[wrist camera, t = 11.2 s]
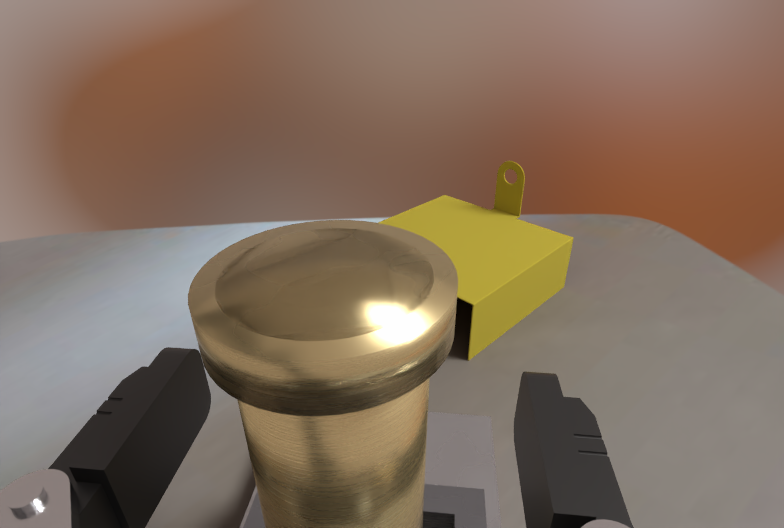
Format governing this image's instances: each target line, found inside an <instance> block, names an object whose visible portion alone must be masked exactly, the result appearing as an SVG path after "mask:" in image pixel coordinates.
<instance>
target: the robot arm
mask: <svg viewBox="0 0 784 528" xmlns="http://www.w3.org/2000/svg"><path fill="white" fill-rule="evenodd" d="M210 405H211V394H210V390H209V386H208V382H207V378H206V374H205V370H204V366H203V362H202V358H201V355H200V353H199V351H198V350H196V349H184V348H169V347H168V348H164V349H163V350H162V351H161V352H160V353H159V354H158V356H157V357H156V358H155V359H154V361H153V362H152V363H151V364H150V366H149V367H141V368H139V369H138V370H137V371H135V372H134V373H132V374H131V375H129V376H128V377H127V378H125V379H124V380H122V381H121V383H120V384H119V385H118V386H117V387H116V389H115V390H114V391H113V392H112V393H111V395H110V396H109V397H108V401H106V400H105V402H104V403H103V404H102V405H101V406H100V408H99V409H98V410H97V414H96V415H95V414H94V415H93V416H92V417H91V418H90V420H89V421H88V422H87V423H86V424H85V426H84V427H83V428H82V429H81V430H80V432H79V433H78V434H77V435H76V436H75V438H74V439H73V440H72V441H71V442H70V444H69V445H68V446H67V447H66V448H65V450H64V451H63V452H62V453H61V454H60V455H59V457H58V458H57V459H56V460H55V461H54V463H53V464H52V465H51V466H50V467H49V468H48V469H44V470H39V471H35V472H32V473H29V474H27V475H24V476H22V477H20V478H19V479H17V480H15V481H13V482H12V483H10V484H9V485H8V486H6V487H5V488H4V489H2V490H1V491H0V528H145V527H146V525H147V523H148V521H149V519H150V518H151V516H152V514H153V512H154V511H155V509H156V507H157V505H158V504H159V502H160V500H161V498H162V496H163V495H164V493H165V491H166V489H167V488H168V486H169V484H170V482H171V481H172V479H173V477H174V475H175V473H176V472H177V470H178V468H179V466H180V465H181V463H182V461H183V459H184V458H185V456H186V454H187V452H188V450H189V449H190V447H191V445H192V443H193V442H194V440H195V438H196V436H197V435H198V433H199V431H200V429H201V428H202V426H203V424H204V422H205V420H206V418H207V416H208V413H209V410H210ZM601 437H602V436H601V433H600V430H599V427H598V424H597V421H596V418H595V416H594V414H593V413H592V412H591V411H590V410H589V409H588V407H587V406H586V405H585V404H584V403H583V402H582V400H581V399H580V398H571V397H563V394H562V391H561V387H560V384H559V380H558V377H557V375H556V374H551V373H536V372H523V374H522V377H521V382H520V388H519V394H518V400H517V406H516V412H515V419H514V443H515V451H516V458H517V465H518V472H519V479H520V486H521V493H522V499H523V506H524V513H525V520H526V527H527V528H634V527H633V525H632V523H631V521H630V518H629V515H628V512H627V509H626V506H625V503H624V500H623V497H622V494H621V491H620V489H619V486H618V483H617V480H616V477H615V474H614V471H613V468H612V465H611V462H610V459H609V457H607V450H606V447H605V445H604V442H603V440H602V438H601Z"/></svg>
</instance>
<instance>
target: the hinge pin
mask: <svg viewBox="0 0 784 528" xmlns="http://www.w3.org/2000/svg"><path fill="white" fill-rule="evenodd" d="M457 291H458V276H457V271H456V268H455V266H454V264H453V262H452V261H451V259H450V258H449V256H448V255H447V254H446V253H445V252H444V251H443V250H442V249H441V248H439V247H438V246H437V245H435V244H434V243H433V242H431V241H429V240H427V239H426V238H424V237H422V236H420V235H417V234H415V233H413V232H410V231H407V230H404V229H401V228H398V227H394V226H390V225H385V224H380V223H374V222H366V221H353V220H327V221H314V222H305V223H298V224H292V225H288V226H283V227H278V228H275V229H271V230H267V231H264V232H261V233H258V234H255V235H253V236H250V237H248V238H245V239H243V240H241V241H239V242H237V243H235V244H233V245H231V246H229V247H227V248H226V249H224V250H222V251H221V252H219V253H218V254H217V255H215V256H214V257H213V258H211V259H210V260H209V261H208V262H207V263H206V264H205V265H204V266H203V267H202V268H201V269H200V270H199V272H198V273H197V274H196V276H195V277H194V279H193V281H192V283H191V285H190V289H189V293H188V305H189V309H190V313H191V317H192V321H193V325H194V329H195V333H196V337H197V341H198V345H199V349H200V353H201V357H202V360H203V364H204V367H205V368H206V370H207V372H208V374H209V376H210V377H211V378H212V379H213V380H214V382H215V383H216V384H217V385H218V386H219V387H220V388H221V389H223V390H224V391H225V392H227V393H228V394H229V395H231V396H232V397H234V398H236V399H238V404H239V408H240V413H241V418H242V422H243V427H244V431H245V436H246V441H247V445H248V450H249V454H250V459H251V464H252V468H253V473H254V477H255V482H256V486H257V491H258V496H259V500H260V505H261V509H262V514H263V519H264V523H265V528H423V506H424V484H425V463H426V441H427V419H428V397H429V377H431V376H432V375H433V374H434V373H435V372H436V371H437V370H438V368H439V367H440V366H441V365H442V363H443V362H444V361H445V359H446V357H447V356H448V354H449V352H450V350H451V347H452V343H453V340H454V331H455V318H456V305H457Z"/></svg>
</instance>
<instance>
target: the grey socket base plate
mask: <svg viewBox="0 0 784 528" xmlns="http://www.w3.org/2000/svg"><path fill="white" fill-rule="evenodd" d="M240 528H265V523H264V519H263V514H262V509H261V505H260V500H259V496H258V491H257V486H256V487H255V489H254V492H253V494H252V497H251V500H250V502H249V505H248V507H247V510H246V512H245V515H244V518H243V520H242V523H241V525H240ZM423 528H501V517H500V507H499V497H498V486H497V476H496V466H495V455H494V445H493V435H492V424H491V416H479V415H465V414H452V413H438V412H428V419H427V441H426V463H425V484H424V506H423Z"/></svg>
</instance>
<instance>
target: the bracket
mask: <svg viewBox="0 0 784 528" xmlns="http://www.w3.org/2000/svg"><path fill="white" fill-rule="evenodd" d="M508 169H512V170H514V171H515V172H516V173H517V181H516V182H515V183H514V184H510V183H508V182H507V181H506V180H505V176H504V175H505V172H506V170H508ZM524 181H525V175H524V172H523V169H522V168H521V166H520V165H519V164H517V163H516V162H513V161H507V162H504V163H503V164H502V165H501V166H500V167H499V170H498V175H497V185H496V194H495V204H494V209H492V210H488V209H485V208H483V207H479V206H476V205H473V204H470V203H467V202H464V201H461V200H458V199H455V198H452V197H449V196H446V195H443V196H441V197H439V198H436V199H434V200H432V201H429V202H427V203H424V204H422V205H419V206H417V207H415V208H412V209H410V210H407V211H405V212H403V213H401V214H398V215H395V216H393V217H391V218H388V219H386V220H383V221H381V222H379V223H380V224H385V225H390V226H394V227H398V228H401V229H404V230H407V231H410V232H413V233H415V234H417V235H420V236H422V237H424V238H426V239H427V240H429V241H431V242H433V243H434V244H435V245H437V246H438V247H439V248H441V249H442V250H443V251H444V252H445V253H446V254H447V255H448V256H449V258H450V259H451V261H452V262H453V264H454V266H455V268H456V271H457V276H458V291H457V298H459V299H461V300H463V301H465V302H467V303H469V304H471V305H473V306H472V317H471V329H470V340H469V351H468V361H469V360H470V359H471V358H473V357H474V356H475V355H477V354H478V353H479V352H480V351H482V350H483V349H484V348H486V347H487V346H488V345H489V344H491V343H492V342H493V341H495V340H496V339H497V338H498V337H500V336H501V335H502V334H504V333H505V332H506V331H508V330H509V329H510V328H511V327H513V326H514V325H515V324H517V323H518V322H519V321H520V320H522V319H523V318H524V317H526V316H527V315H528V314H530V313H531V312H532V311H533V310H535V309H536V308H537V307H539V306H540V305H541V304H542V303H544V302H545V301H546V300H548V299H549V298H550V297H551V296H553V295H554V294H555V293H557V292H558V291H559V290H561V289H562V288H563V287H564V284H565V279H566V273H567V268H568V263H569V258H570V253H571V248H572V243H573V237H570V236H567V235H564V234H561V233H558V232H555V231H552V230H549V229H546V228H543V227H540V226H537V225H534V224H531V223H528V222H525V221H522V220H519V219H517V218H519V217H520V211H521V203H522V195H523V188H524Z"/></svg>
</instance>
